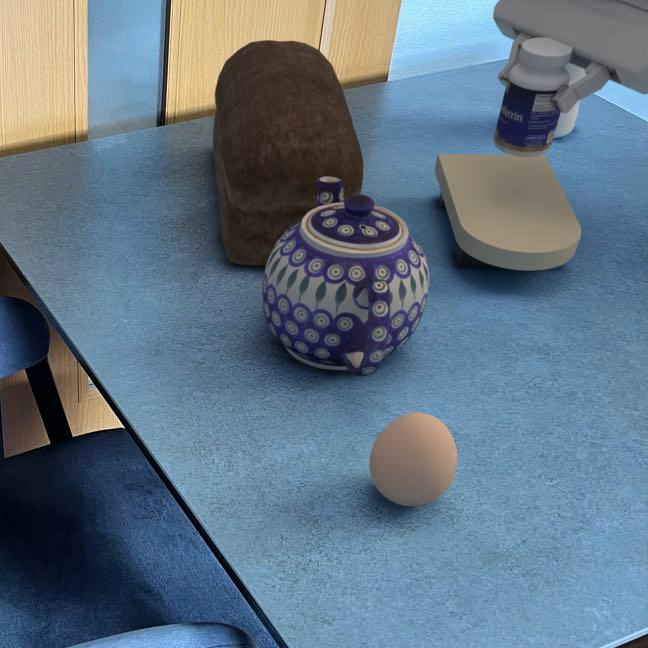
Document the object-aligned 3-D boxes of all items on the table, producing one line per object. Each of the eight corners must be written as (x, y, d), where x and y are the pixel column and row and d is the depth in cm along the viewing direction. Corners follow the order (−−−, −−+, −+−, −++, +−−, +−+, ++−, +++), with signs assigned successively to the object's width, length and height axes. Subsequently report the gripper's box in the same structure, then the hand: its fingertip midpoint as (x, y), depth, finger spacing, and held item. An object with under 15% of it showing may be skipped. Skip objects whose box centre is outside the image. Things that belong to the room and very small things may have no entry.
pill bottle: (482, 138, 108) (505, 38, 101) (532, 132, 108) (559, 32, 101) (509, 161, 104) (535, 59, 97) (560, 155, 104) (590, 52, 97)
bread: (323, 144, 131) (340, 10, 120) (358, 275, 108) (384, 125, 97) (207, 144, 131) (214, 11, 120) (219, 275, 109) (229, 126, 97)
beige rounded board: (428, 194, 120) (437, 153, 117) (534, 197, 120) (546, 155, 116) (458, 295, 105) (469, 251, 101) (579, 298, 104) (594, 254, 101)
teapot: (440, 421, 90) (480, 271, 80) (270, 422, 91) (287, 273, 80) (389, 273, 108) (417, 134, 98) (247, 274, 109) (259, 136, 98)
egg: (355, 513, 82) (371, 436, 77) (370, 462, 87) (386, 386, 81) (440, 532, 81) (463, 455, 75) (451, 479, 85) (473, 402, 79)
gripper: (543, -78, 103) (446, 44, 106) (717, -24, 90) (599, 113, 93) (563, -36, 107) (470, 79, 111) (731, 22, 94) (619, 150, 98)
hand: (530, 95), depth 102 cm, fingers closed on pill bottle, 6 cm apart
